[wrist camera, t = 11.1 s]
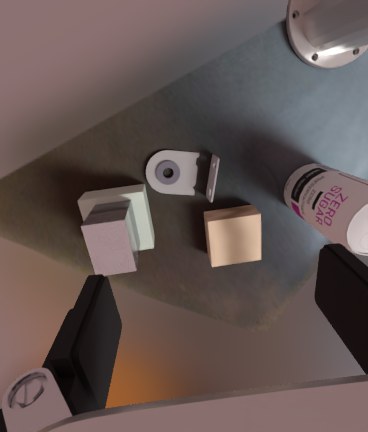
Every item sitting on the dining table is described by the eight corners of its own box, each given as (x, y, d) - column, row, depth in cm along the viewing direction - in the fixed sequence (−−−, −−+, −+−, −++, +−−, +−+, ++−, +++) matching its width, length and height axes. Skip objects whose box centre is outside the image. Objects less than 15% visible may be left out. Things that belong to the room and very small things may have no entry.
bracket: (147, 147, 38) (146, 150, 35) (214, 154, 39) (219, 158, 36) (144, 190, 40) (143, 197, 37) (208, 195, 41) (212, 203, 38)
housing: (140, 243, 39) (136, 270, 32) (106, 248, 39) (96, 276, 32) (131, 199, 36) (124, 219, 30) (95, 204, 36) (80, 226, 29)
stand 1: (144, 183, 39) (142, 191, 36) (154, 235, 43) (153, 248, 39) (85, 192, 39) (77, 200, 35) (100, 244, 43) (94, 256, 39)
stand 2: (252, 204, 42) (260, 214, 39) (252, 247, 45) (261, 259, 42) (203, 211, 42) (207, 221, 38) (207, 254, 45) (211, 267, 41)
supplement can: (330, 205, 44) (409, 251, 30) (282, 215, 43) (339, 266, 30) (332, 157, 40) (422, 184, 27) (280, 168, 40) (343, 201, 26)
